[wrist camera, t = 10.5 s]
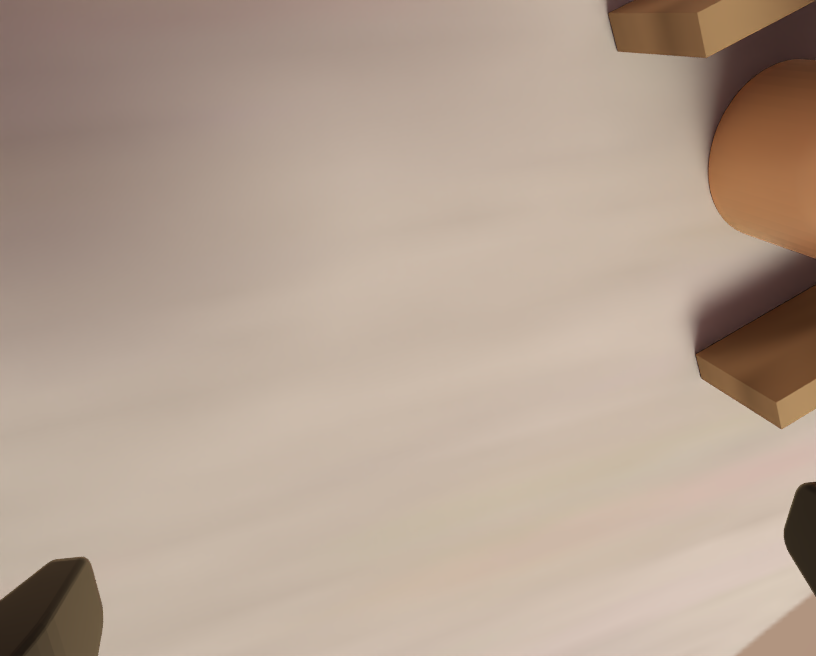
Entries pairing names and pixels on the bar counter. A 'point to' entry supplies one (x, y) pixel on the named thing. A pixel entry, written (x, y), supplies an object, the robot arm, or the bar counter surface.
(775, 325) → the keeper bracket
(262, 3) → the bar counter surface
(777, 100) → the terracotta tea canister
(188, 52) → the bar counter surface
